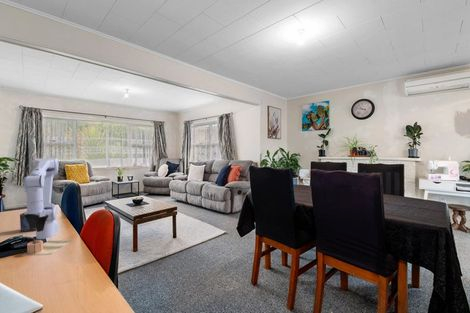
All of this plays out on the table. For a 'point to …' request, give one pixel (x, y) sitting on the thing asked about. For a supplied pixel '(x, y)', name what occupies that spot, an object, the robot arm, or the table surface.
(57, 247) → the board
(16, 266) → the table surface
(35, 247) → the light brown wooden block
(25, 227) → the small box
